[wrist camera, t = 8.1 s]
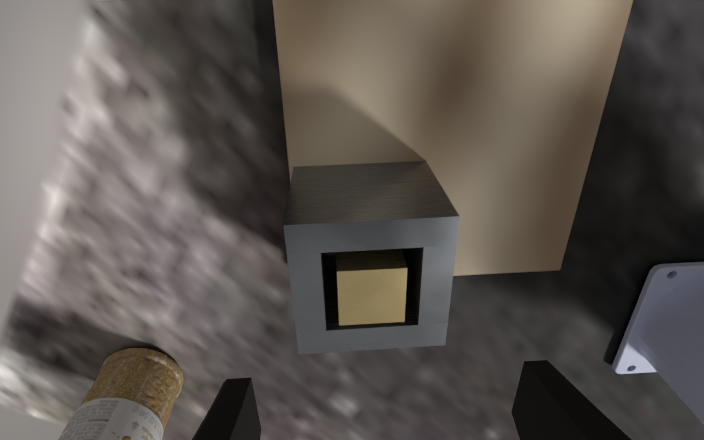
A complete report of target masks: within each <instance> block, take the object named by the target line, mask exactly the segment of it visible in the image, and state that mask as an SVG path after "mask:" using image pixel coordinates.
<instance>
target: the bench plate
mask: <svg viewBox="0 0 704 440" xmlns="http://www.w3.org/2000/svg"><path fill="white" fill-rule="evenodd" d="M632 3H633V0H273V10H274V20H275V31H276V41H277V51H278V61H279V71H280V82H281V92H282V102H283V112H284V123H285V133H286V143H287V153H288V164H289V174H290V184H291V178H292V172H293V167H300V166H322V165H344V164H366V163H388V162H411V161H426V162H427V163H428V165H429V167H430V168H431V170H432V172H433V173H434V175H435V176H436V178H437V180H438V181H439V183H440V185H441V186H442V188H443V190H444V191H445V193H446V195H447V196H448V198H449V199H450V201H451V203H452V204H453V206H454V208H455V209H456V211H457V213H458V214H459V216H460V219H459V228H458V237H457V245H456V254H455V263H454V272H453V276H458V275H477V274H497V273H516V272H536V271H555V270H560V268H561V265H562V261H563V257H564V254H565V250H566V246H567V242H568V239H569V235H570V231H571V228H572V224H573V220H574V217H575V213H576V209H577V206H578V202H579V198H580V194H581V191H582V187H583V183H584V180H585V176H586V172H587V169H588V165H589V161H590V158H591V154H592V150H593V147H594V143H595V139H596V135H597V132H598V128H599V124H600V121H601V117H602V113H603V110H604V106H605V102H606V99H607V95H608V91H609V87H610V84H611V80H612V76H613V73H614V69H615V65H616V62H617V58H618V54H619V51H620V47H621V43H622V40H623V36H624V32H625V28H626V25H627V21H628V17H629V14H630V10H631V6H632ZM326 255H336V252H328V253H326Z"/></svg>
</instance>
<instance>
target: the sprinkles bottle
mask: <svg viewBox="0 0 704 440" xmlns="http://www.w3.org/2000/svg"><path fill="white" fill-rule="evenodd" d="M182 385H183V373H182V371H181V369H180V367H179V366H178V365H177V363H176V362H175V361H174V360H172V359H171V358H169V357H168V356H167V355H165V354H163V353H160V352H157V351H155V350H152V349H147V348H128V349H124V350H121V351H117V352H115V353H113V354H111V355H110V356H109V357H108V358H106V359H105V361H104V362H103V365H102V366H101V368H100V371H99V375H98V377H97V378H96V380H95V382H94V383H93V385H92V387H91V389H90V391H89V392H88V394H87V395H86V397H85V399H84V400H83V402H82V404H81V405H80V407H79V408H78V409H77V410H76V411H75V413H74V414H73V416H72V417H71V419H70V421H69V422H68V424H67V426H66V427H65V429H64V431H63V433H62V435H61V436H60V438H59V439H58V440H162V437H163V431H164V429H165V426H166V423H167V420H168V417H169V415H170V413H171V410H172V407H173V404H174V402H175V400H176V397H177V396H178V395H179V393H180V392H181V389H182Z"/></svg>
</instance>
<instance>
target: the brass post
mask: <svg viewBox="0 0 704 440" xmlns="http://www.w3.org/2000/svg"><path fill="white" fill-rule="evenodd" d="M336 268H337V290H338V311H339V325H357V324H375V323H393V322H405V305H406V287H407V269H408V268H407V265H406V261H405V258H404V255H403V252H402V249H384V250H365V251H346V252H336Z"/></svg>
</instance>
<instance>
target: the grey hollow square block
mask: <svg viewBox="0 0 704 440" xmlns="http://www.w3.org/2000/svg"><path fill="white" fill-rule="evenodd" d="M459 219H460V216H459V214H458V213H457V211H456V209H455V208H454V206H453V204H452V203H451V201H450V199H449V198H448V196H447V195H446V193H445V191H444V190H443V188H442V186H441V185H440V183H439V181H438V180H437V178H436V176H435V175H434V173H433V172H432V170H431V168H430V167H429V165H428V163H427V162H426V161H411V162H388V163H366V164H344V165H322V166H300V167H293V172H292V178H291V184H290V189H289V195H288V201H287V207H286V212H285V218H284V224H283V227H284V236H285V244H286V252H287V261H288V269H289V277H290V286H291V294H292V303H293V311H294V319H295V328H296V336H297V344H298V353H299V354H311V353H326V352H342V351H358V350H374V349H390V348H405V347H421V346H437V345H445V342H446V334H447V325H448V316H449V307H450V298H451V290H452V281H453V272H454V263H455V254H456V245H457V237H458V228H459ZM384 249H402V252H403V255H404V258H405V261H406V265H407V268H408V269H407V287H406V305H405V322H393V323H375V324H357V325H339V311H338V290H337V268H336V255H326V253H328V252H346V251H365V250H384Z"/></svg>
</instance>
